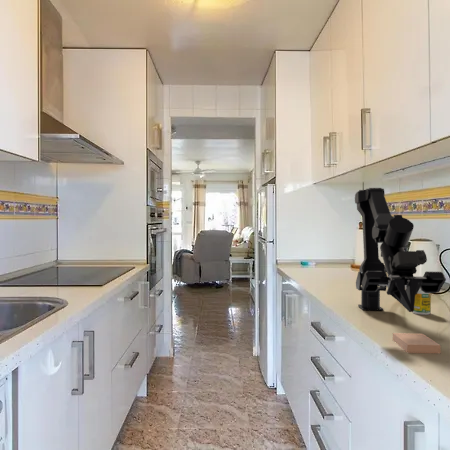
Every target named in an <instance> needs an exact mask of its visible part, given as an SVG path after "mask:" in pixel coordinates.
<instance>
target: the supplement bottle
mask: <svg viewBox="0 0 450 450" xmlns="http://www.w3.org/2000/svg"><path fill="white" fill-rule="evenodd" d="M431 302H432V293H425V292H423V291H422V290H421V288H420V289H419V291H418V293H417V294H416V295H415V303H414V311H413V312H412V313H413V314H415V315H421V316H422V315H423V316H425V315H426V316H427V315H430V314H431V308H432V307H431V305H432V304H431Z"/></svg>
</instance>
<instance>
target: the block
mask: <svg viewBox="0 0 450 450" xmlns="http://www.w3.org/2000/svg"><path fill="white" fill-rule="evenodd" d="M392 341H393V342H394V343H395V342H396V343H395V344H396V345H398V346H399V347H401V349H403V350H404V351H405V352H406V353H408V354H409V353H411V354H413V353H414V354H441V344H439V343H438V342H436V341H434V340H433V339H432V338H430V337H428V336H427V335H425V334H424V333H411V332H410V333H408V332H406V333H404V332H403V333H402V332H393V333H392Z"/></svg>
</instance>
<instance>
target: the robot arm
mask: <svg viewBox="0 0 450 450" xmlns="http://www.w3.org/2000/svg"><path fill="white" fill-rule="evenodd" d="M354 204H356V210H357V211H358V213H359V214H360V216H361V219H362V236H363V237H362V238H363V240H362V242H363V243H362V244H363V261H362V263H361V264H360V265H359V270H358V273H357V277H356V280H355V289H356V290H357V291H361V296H360V299H361V300H360V302H361V304H357V307H359V308H360V309H361V310H363V311H384V308H383V307H382V306H381V299H380V298H381V291H382V292H386V294H387V295H388V296H391V297H393V298H394V299H395V300H396V301H397V302H398V303H399V304H400V305H402V306H403V307H404V309H405V310H407V311H408V312H409V313H413V311H414V303H415V295H416V294H417V293H418V291H419V289H420V288H421V290H422V291H423V292H425V293H431V294H438V293H440V291H441V289H442V288H443V286H444V284H445V283H446V281H447V279H446V276H445V274H444V273H443V272H442V271H425V272H424V274H423V276H414V274H416V273H417V267H419V266H420V265H425V263H427V261H428V259H427V254H426V251H425V250H424V249H423V250H422V249H418V250H416V251H415V250H413V251H412V250H411V251H410V250H408V251H407V250H405V248H404V247H407V246H408V244H409V241H410V239H411V236H412V232H413V231H414V223H413V222H412V221H410V220H409V219H407V218H404V217H403V215H402V214H394V215H392V213H391V211H390V208H389V205H388V203H387V199H386V196H385V189H384V188H383V187H369V188H366V189H359V190H358V191H356V192H355V194H354ZM379 244H380V246H379ZM379 250H380V256H379ZM380 257H381V258H382V260H383V262H382V261H381V259H380Z"/></svg>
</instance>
